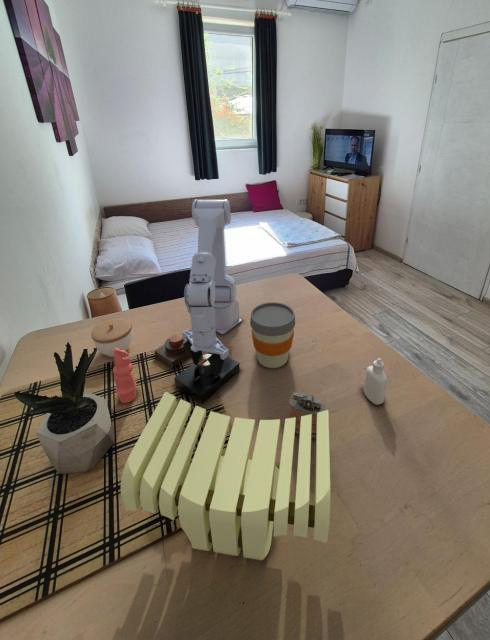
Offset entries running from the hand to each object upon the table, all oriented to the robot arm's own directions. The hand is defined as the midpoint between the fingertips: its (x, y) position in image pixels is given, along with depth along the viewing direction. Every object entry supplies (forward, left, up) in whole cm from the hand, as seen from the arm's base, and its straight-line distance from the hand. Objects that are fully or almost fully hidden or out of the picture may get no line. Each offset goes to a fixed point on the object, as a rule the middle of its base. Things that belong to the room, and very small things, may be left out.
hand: (207, 368), depth 86 cm
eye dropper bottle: (-20, +38, -4) cm, 43 cm away
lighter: (-2, +29, -4) cm, 29 cm away
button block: (-2, -15, -3) cm, 16 cm away
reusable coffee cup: (-17, +9, -4) cm, 20 cm away
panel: (0, 0, -3) cm, 3 cm away
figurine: (+16, -12, -4) cm, 20 cm away
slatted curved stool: (+19, +27, -4) cm, 33 cm away
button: (-2, -15, 0) cm, 15 cm away
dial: (0, 0, 0) cm, 0 cm away
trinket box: (+8, -31, -4) cm, 32 cm away
